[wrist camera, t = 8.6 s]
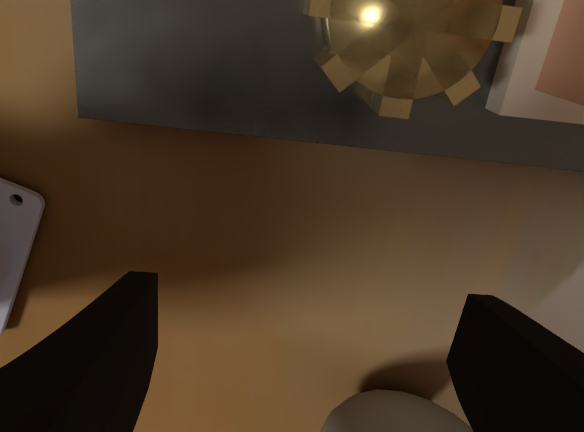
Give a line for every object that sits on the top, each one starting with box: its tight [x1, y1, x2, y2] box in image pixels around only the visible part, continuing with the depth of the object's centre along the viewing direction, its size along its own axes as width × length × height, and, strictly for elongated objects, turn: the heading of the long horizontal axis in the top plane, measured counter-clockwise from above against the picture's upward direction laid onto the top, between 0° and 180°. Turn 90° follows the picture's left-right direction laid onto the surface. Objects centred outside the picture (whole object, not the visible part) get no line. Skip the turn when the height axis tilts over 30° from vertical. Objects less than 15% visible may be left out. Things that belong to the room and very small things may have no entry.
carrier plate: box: [70, 0, 584, 171], centre depth 15 cm, size 22×10×4 cm, turn 83°
